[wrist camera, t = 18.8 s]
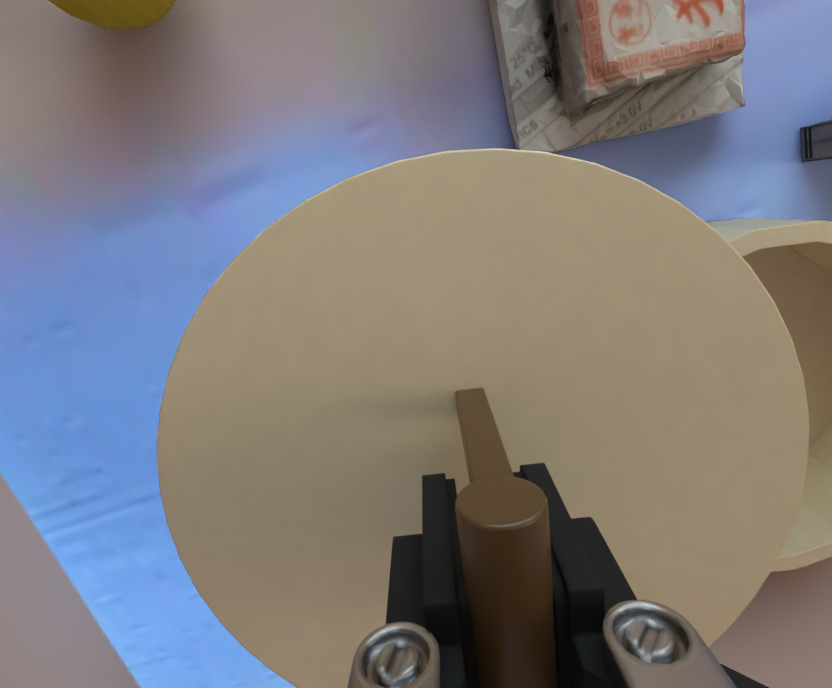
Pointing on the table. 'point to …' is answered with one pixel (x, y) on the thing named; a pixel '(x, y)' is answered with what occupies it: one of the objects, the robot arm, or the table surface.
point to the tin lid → (478, 407)
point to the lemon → (117, 12)
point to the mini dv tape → (817, 141)
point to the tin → (800, 354)
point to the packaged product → (615, 66)
